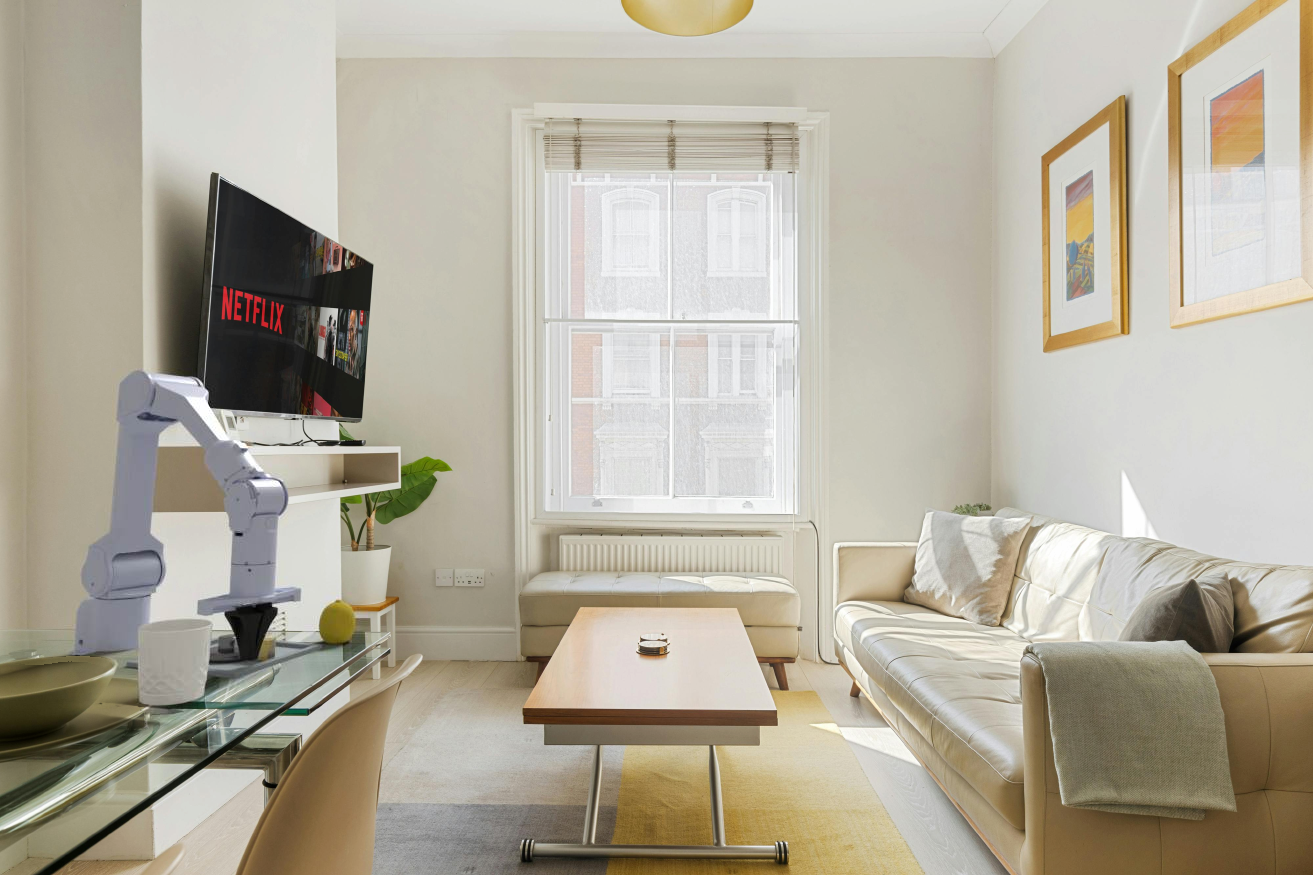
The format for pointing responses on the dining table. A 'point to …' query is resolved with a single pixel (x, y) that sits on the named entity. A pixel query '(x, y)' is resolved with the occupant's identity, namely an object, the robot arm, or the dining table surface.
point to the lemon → (337, 623)
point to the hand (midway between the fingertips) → (249, 658)
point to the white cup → (173, 662)
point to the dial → (230, 651)
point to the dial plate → (244, 667)
